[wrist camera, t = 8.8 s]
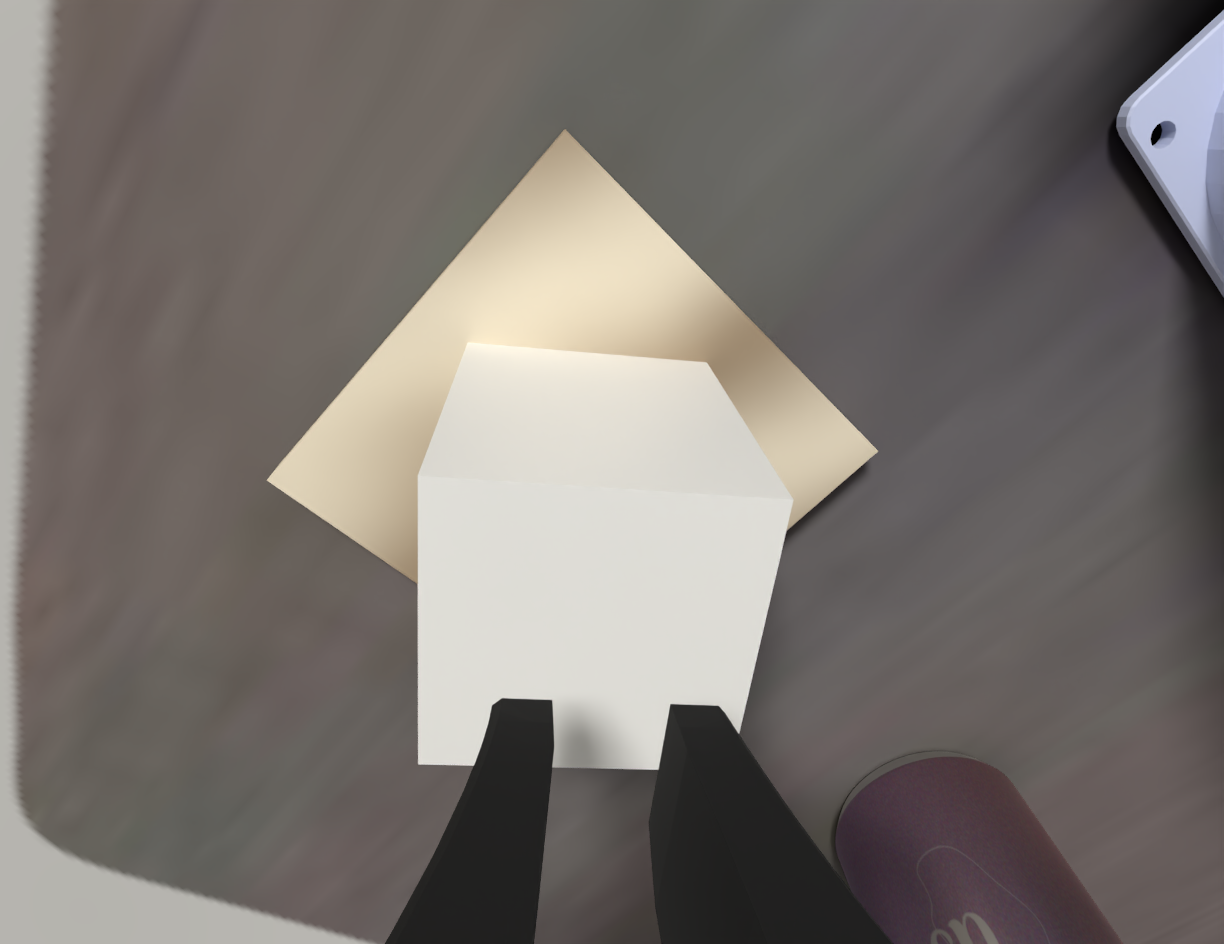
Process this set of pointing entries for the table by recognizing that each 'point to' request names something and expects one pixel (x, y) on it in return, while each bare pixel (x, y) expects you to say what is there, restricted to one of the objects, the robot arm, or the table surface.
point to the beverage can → (959, 859)
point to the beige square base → (560, 320)
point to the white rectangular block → (590, 551)
